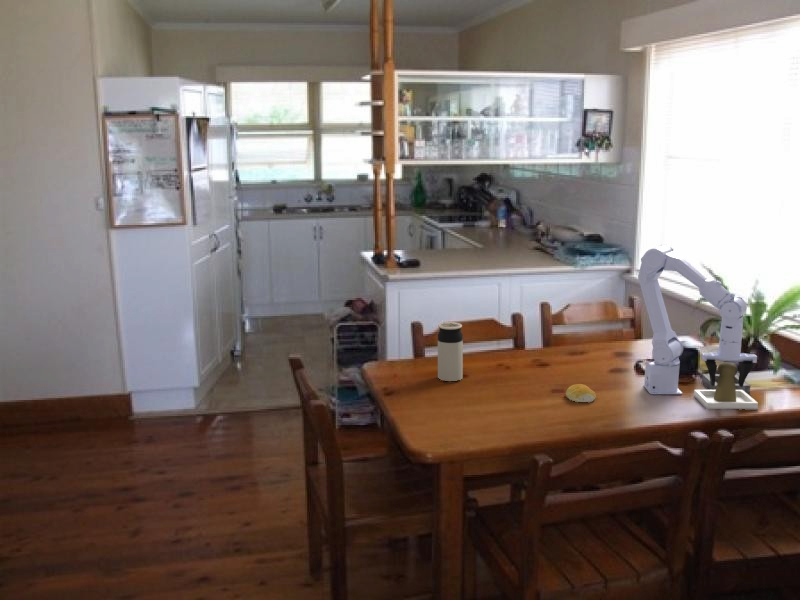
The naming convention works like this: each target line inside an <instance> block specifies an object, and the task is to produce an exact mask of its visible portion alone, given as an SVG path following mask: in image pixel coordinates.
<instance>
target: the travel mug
mask: <svg viewBox="0 0 800 600" xmlns="http://www.w3.org/2000/svg"><path fill="white" fill-rule="evenodd" d="M462 327H463V324H462V323H459V322H456V321H455V322H454V321H445V322H441V323H439V324H438V328H439V332H438V334H437V379H438V378H439V379H441V380H445V381H457V380H460V381H462V380H463V377H464V376H463V372H464V371H463V370H464V369H463V368H464V365H463V361H464V358H463V357H464V355H463V351H464V350H463V349H464V344H463V343H464V342H463V341H464V334H463V332H462V330H461V329H462ZM439 379H438V380H439ZM461 379H462V380H461ZM441 380H440V381H441Z"/></svg>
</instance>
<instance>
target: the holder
mask: <svg viewBox="0 0 800 600" xmlns="http://www.w3.org/2000/svg"><path fill="white" fill-rule="evenodd" d="M701 375H702V377H701V382H702V383H703V384H704V385H705V386H706V388H708V390H716V387H717V383H718V379H719V374H718V373H716V374H715V386H712V385H711V384H710V375H709V373H706V374H705V373H702V374H701ZM738 380H739V374H736V375H735V387H736V390H743V391H745V392H746V393H747V394H751V384H750V383H748V382H747V381H746V380H745V381H744V384H743V387H740V386H739V385H738Z"/></svg>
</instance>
